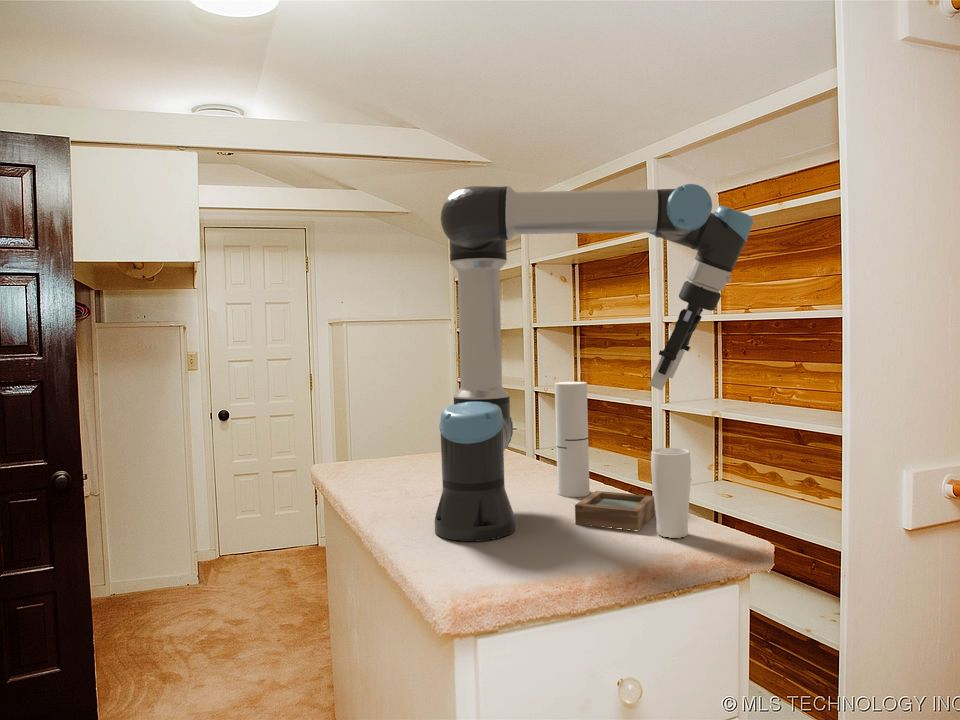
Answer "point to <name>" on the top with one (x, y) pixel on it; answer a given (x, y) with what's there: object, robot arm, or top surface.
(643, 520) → the wooden tray
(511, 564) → the top surface
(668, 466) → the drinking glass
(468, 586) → the top surface
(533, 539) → the top surface
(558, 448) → the cylindrical container
